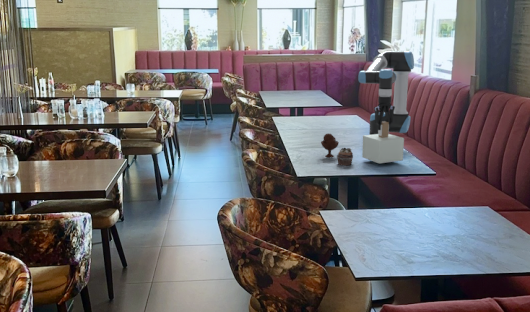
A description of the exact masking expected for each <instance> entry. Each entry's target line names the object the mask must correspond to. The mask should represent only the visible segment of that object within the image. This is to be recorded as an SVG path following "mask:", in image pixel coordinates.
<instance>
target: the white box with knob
mask: <svg viewBox="0 0 530 312" xmlns="http://www.w3.org/2000/svg"><path fill="white" fill-rule="evenodd" d="M381 125H382V136H380V135H378V134H373V135H369V134H366V135H362V149H361V150H362V153H361V154H362V155H361V158H363V159H366V160H368V161H372V162H374V163H377V164H385V163H391V162H392V163H393V162H400V161H403V160H404V148H405V146H404V145H405V137H402V136H398V135H395V134H390V133H389V135H388V127H389V122H386V121H382V123H381Z"/></svg>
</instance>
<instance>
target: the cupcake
mask: <svg viewBox="0 0 530 312" xmlns="http://www.w3.org/2000/svg"><path fill="white" fill-rule="evenodd" d="M353 158H354V154H353V152H352V149H351V148H348V147H347V148H346V147H342V148H340V149H339V151H338V153H337V155H336V160H337V164H338V165H339V166H343V165H344V166H343V167H345V166H351V165H352V163H353Z"/></svg>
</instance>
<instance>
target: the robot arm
mask: <svg viewBox="0 0 530 312" xmlns="http://www.w3.org/2000/svg"><path fill="white" fill-rule="evenodd" d="M414 59H415V58H414V53H413V51H410V50H409V51H408V50H387V51H384V52H381V53H378V54H377V55H375V57H374V58H373V59H372V63H371V64H370V65H369V67H368V68H367V69H366V70H360V71H359V72H358V78H357V79H358V82H359V83H360V84H371V85H372V84H373V85H374V84H375V85H376V84H378V101H377V103H378V105H377V106H376V107H373V109H374V113H371V115H369V116H370V118H369V134H368V135H373V134H378V135H380V136H382V125H381V123H382V121H386V122H389V127H388V135H389V134H390V133H399V134H406V133H407V132H408V131H409V128H410V125H411V118H412V117H411V116H410V115H409V112H408V110H407V103H408V100H407V99H408V88H409V87H408V86H409V85H408V84H409V75H410V73H411V72H412V70H414V68H415V67H414V66H415V60H414ZM393 83H394V87H393ZM393 89H394V90H393ZM392 95H393V105H392Z"/></svg>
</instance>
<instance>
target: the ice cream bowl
mask: <svg viewBox="0 0 530 312" xmlns="http://www.w3.org/2000/svg"><path fill="white" fill-rule="evenodd" d="M320 144H321V146H322V147H323V148H324V149H325V150H326V151H328V152H327V153H328V154H325V156H324V157H325V158H330V157H331V158H334V157H335V155H333V154H332V151H333V150H335V149H336V148H337V147H338V146H339V141H338V140H336V137H335V136H334V135H333V134H331V133H325V134H324V135H323V140H321V142H320Z"/></svg>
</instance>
